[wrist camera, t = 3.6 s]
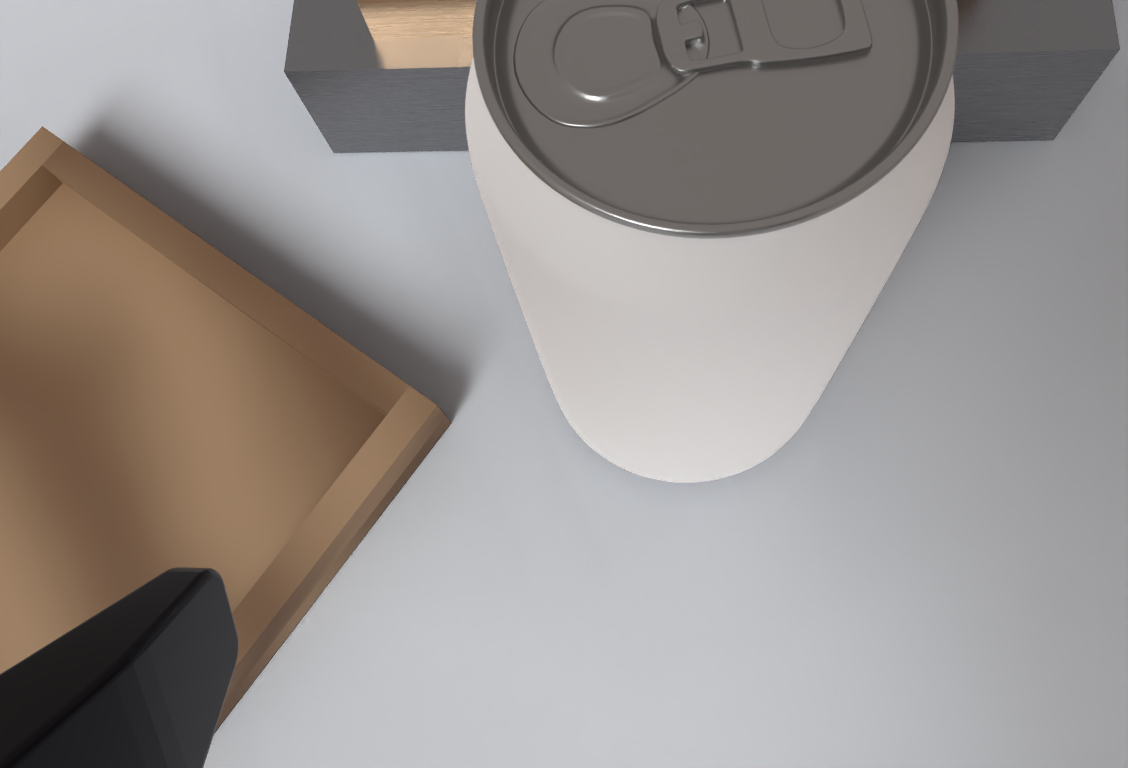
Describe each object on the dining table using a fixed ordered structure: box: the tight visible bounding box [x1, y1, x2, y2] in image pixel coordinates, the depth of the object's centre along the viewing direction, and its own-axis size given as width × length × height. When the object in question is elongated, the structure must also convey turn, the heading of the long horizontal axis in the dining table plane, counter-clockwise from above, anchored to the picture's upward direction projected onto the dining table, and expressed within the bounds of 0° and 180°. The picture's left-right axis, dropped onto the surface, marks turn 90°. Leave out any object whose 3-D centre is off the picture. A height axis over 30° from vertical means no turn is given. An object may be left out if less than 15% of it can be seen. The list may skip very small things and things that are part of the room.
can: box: [465, 0, 959, 483], centre depth 17 cm, size 6×6×12 cm
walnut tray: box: [0, 126, 451, 733], centre depth 22 cm, size 13×13×2 cm
